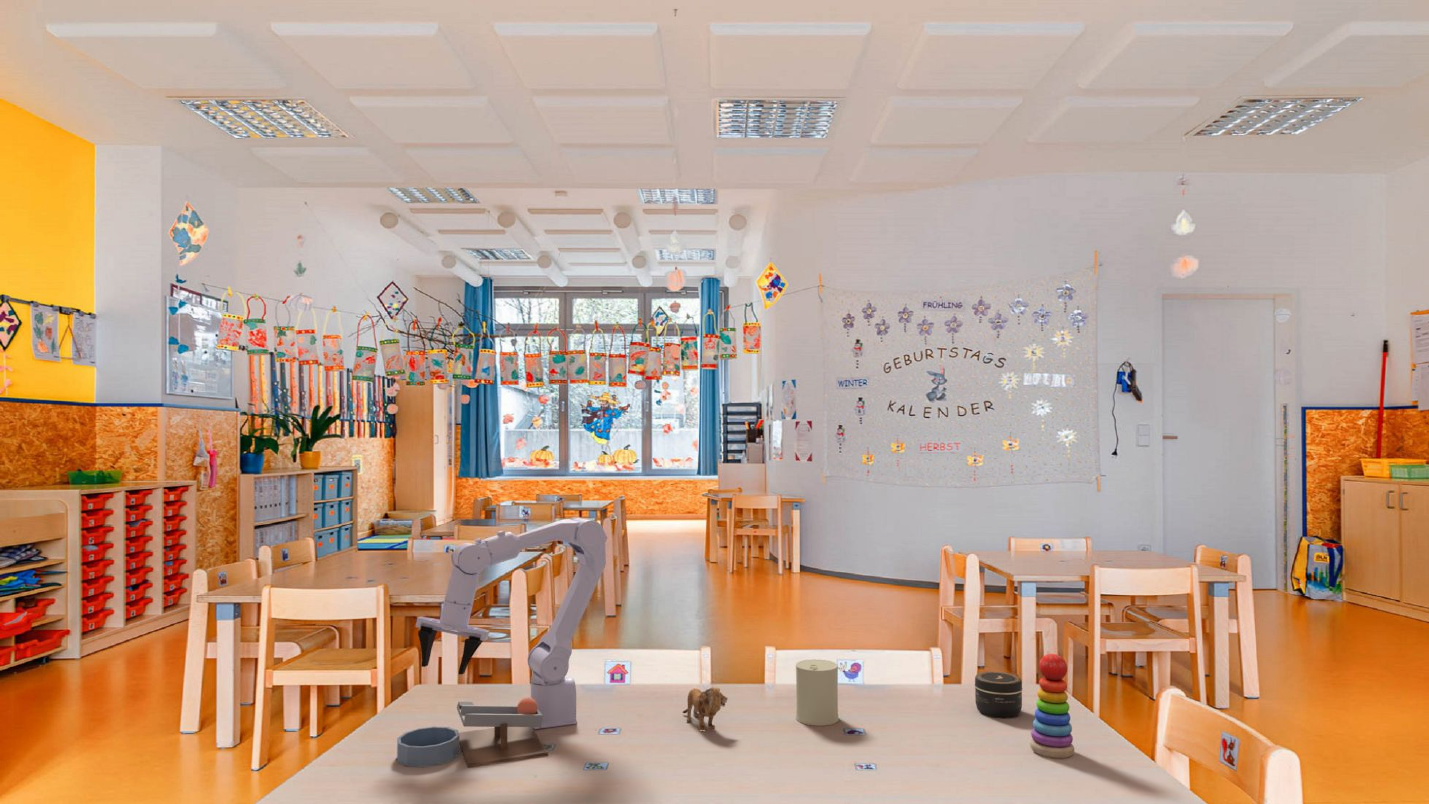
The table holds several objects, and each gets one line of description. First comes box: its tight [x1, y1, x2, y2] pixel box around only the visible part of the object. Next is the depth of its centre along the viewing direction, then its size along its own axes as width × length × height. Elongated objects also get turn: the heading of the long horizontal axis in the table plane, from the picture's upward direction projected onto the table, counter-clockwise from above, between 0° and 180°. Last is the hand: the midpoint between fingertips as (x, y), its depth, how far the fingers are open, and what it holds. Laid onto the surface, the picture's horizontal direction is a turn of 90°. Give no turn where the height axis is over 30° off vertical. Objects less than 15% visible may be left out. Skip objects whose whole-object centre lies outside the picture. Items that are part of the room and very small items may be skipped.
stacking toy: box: [1029, 653, 1075, 759], centre depth 168 cm, size 8×8×19 cm
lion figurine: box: [682, 686, 729, 731], centre depth 184 cm, size 15×5×9 cm, turn 34°
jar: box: [974, 671, 1023, 719], centre depth 192 cm, size 10×10×8 cm
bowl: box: [396, 726, 460, 768], centre depth 167 cm, size 11×11×4 cm
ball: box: [516, 697, 538, 714], centre depth 175 cm, size 4×4×4 cm
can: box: [795, 659, 840, 727], centre depth 188 cm, size 9×9×12 cm
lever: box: [456, 701, 543, 728], centre depth 175 cm, size 15×12×2 cm
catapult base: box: [458, 723, 549, 768], centre depth 172 cm, size 15×18×5 cm
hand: (442, 669), depth 176 cm, fingers open, 7 cm apart
